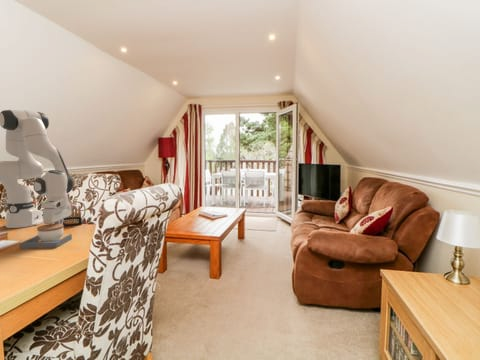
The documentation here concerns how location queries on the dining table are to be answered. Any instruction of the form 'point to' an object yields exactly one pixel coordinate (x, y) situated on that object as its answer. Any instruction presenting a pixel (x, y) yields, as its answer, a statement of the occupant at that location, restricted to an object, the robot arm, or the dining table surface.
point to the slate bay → (43, 243)
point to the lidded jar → (50, 232)
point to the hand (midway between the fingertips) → (59, 228)
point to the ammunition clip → (73, 218)
